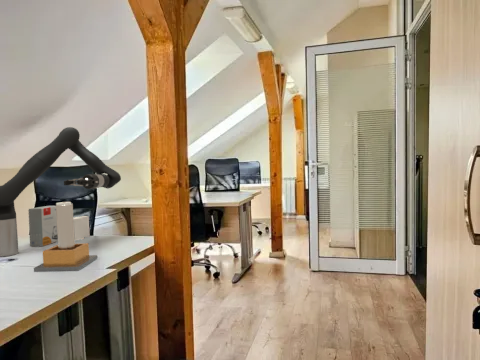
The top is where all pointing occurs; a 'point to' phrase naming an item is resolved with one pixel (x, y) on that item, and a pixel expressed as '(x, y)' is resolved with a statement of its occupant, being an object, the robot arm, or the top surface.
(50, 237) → the hard drive box
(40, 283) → the top surface
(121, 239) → the top surface
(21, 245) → the top surface
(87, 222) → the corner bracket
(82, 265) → the dock
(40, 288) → the top surface
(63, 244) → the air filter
